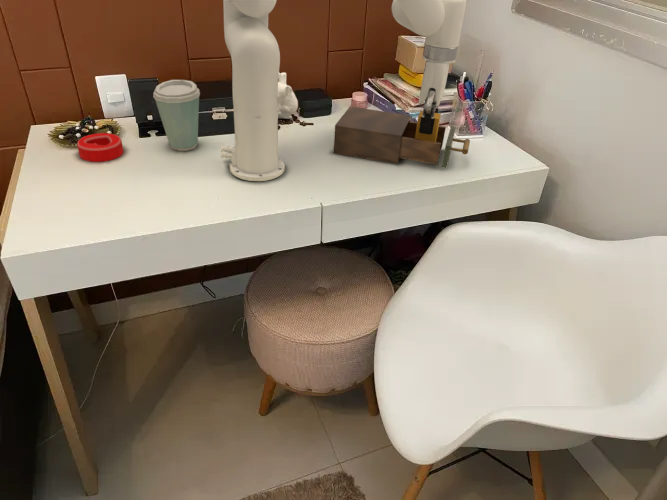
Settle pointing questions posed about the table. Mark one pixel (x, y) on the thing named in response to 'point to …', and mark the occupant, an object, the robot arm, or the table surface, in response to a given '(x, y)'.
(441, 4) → the robot arm
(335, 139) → the cabinet
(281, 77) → the white figurine
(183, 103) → the disposable coffee cup
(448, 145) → the drawer
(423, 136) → the block
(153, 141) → the table surface
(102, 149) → the decorative ornament
